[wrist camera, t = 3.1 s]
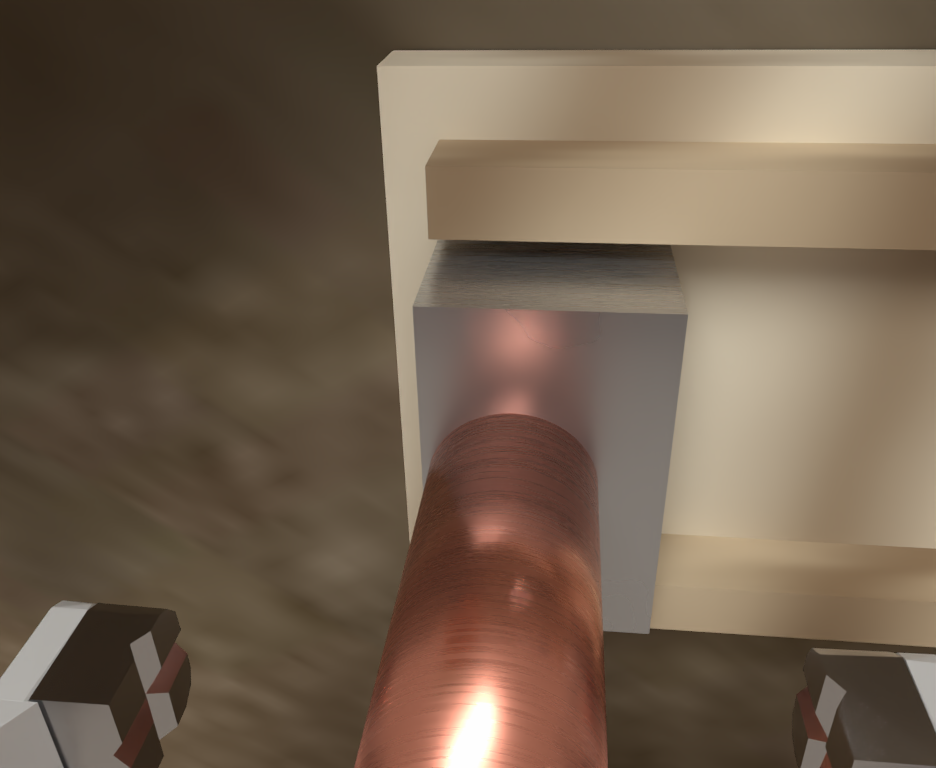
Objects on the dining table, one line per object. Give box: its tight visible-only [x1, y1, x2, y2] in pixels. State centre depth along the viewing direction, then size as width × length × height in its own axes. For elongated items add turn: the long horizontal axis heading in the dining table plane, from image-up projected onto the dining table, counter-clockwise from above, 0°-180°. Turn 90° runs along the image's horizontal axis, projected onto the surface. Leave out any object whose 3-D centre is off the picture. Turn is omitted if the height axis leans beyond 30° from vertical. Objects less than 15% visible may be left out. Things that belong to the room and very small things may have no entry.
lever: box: [354, 240, 688, 768], centre depth 13 cm, size 4×6×10 cm, turn 1°
